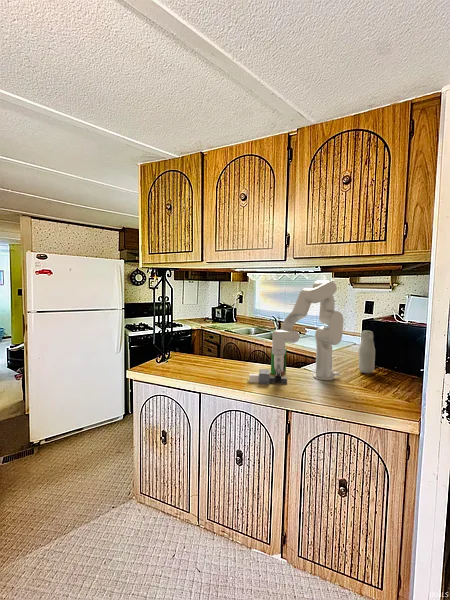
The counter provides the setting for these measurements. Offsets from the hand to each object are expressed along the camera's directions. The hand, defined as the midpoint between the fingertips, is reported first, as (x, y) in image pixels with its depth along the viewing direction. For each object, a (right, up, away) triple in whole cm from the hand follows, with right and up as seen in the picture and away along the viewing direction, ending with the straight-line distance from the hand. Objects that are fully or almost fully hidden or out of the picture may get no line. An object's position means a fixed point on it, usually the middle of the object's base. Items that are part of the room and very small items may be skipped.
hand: (278, 380), depth 195 cm
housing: (-8, -1, +1) cm, 8 cm away
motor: (+3, 0, +20) cm, 20 cm away
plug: (-6, -1, +1) cm, 6 cm away
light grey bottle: (+61, -1, +21) cm, 64 cm away
